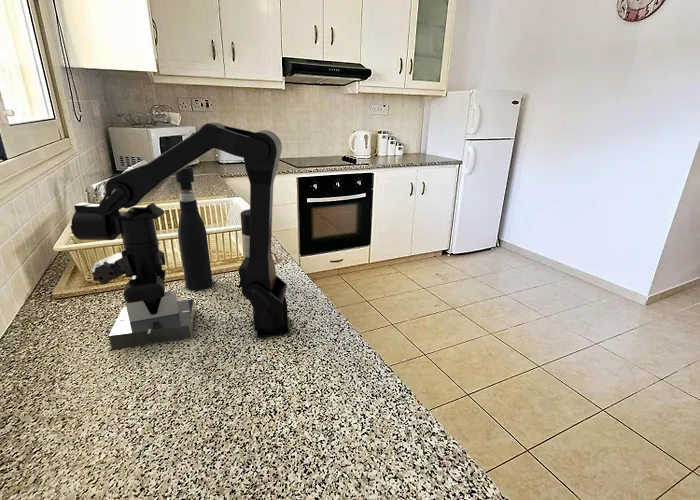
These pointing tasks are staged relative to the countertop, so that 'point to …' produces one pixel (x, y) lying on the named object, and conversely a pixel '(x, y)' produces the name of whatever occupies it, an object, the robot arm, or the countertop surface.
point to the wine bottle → (192, 236)
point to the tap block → (153, 327)
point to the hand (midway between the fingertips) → (154, 311)
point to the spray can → (246, 231)
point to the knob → (165, 308)
